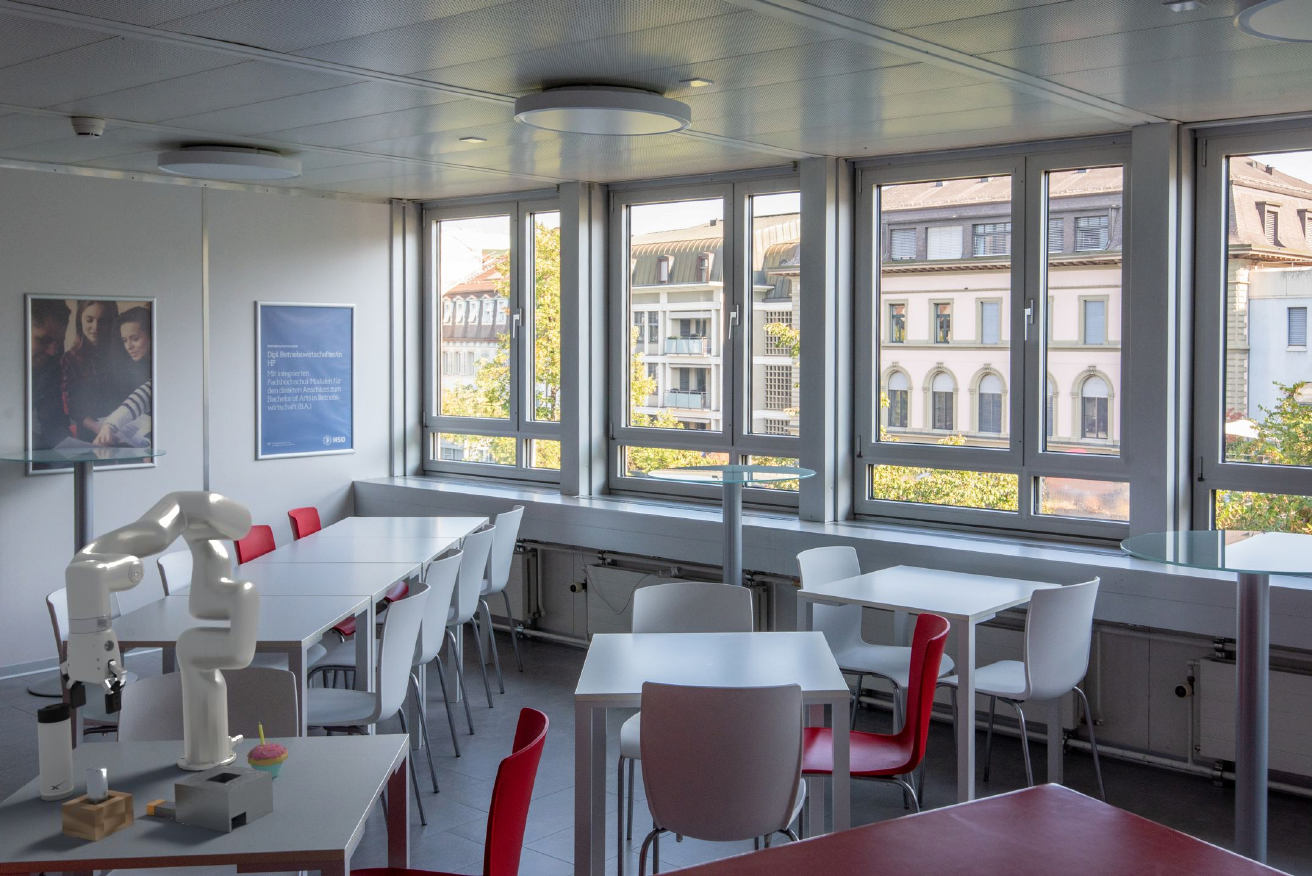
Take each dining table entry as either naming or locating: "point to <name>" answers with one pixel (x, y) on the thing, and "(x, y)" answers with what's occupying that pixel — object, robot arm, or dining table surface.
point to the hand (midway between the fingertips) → (95, 709)
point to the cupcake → (267, 756)
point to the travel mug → (55, 752)
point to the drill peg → (97, 785)
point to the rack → (97, 816)
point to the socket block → (223, 797)
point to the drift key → (162, 808)
